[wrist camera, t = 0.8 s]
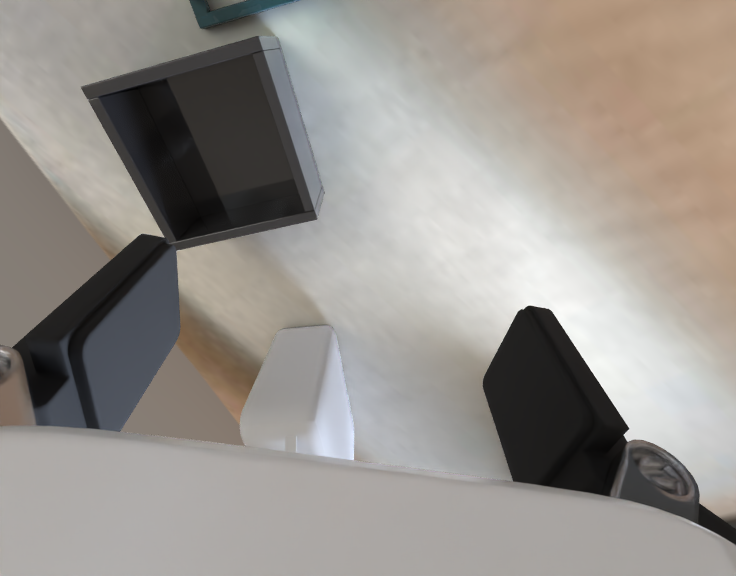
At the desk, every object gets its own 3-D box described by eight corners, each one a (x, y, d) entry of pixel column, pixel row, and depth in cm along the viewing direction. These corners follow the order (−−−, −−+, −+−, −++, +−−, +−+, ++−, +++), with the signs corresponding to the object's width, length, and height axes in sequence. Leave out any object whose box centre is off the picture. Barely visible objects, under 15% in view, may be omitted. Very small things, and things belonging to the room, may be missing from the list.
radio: (259, 312, 44) (157, 568, 23) (333, 306, 43) (298, 561, 22) (299, 437, 55) (256, 683, 34) (357, 433, 55) (350, 680, 34)
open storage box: (128, 78, 31) (80, 86, 26) (277, 36, 30) (258, 35, 25) (199, 222, 38) (172, 251, 33) (325, 193, 36) (317, 219, 31)
